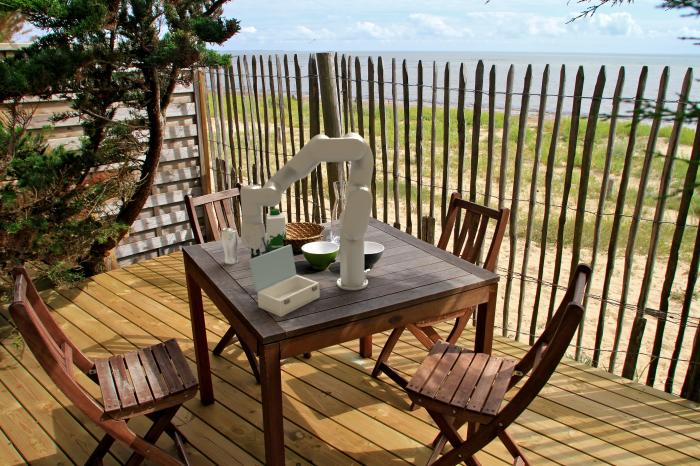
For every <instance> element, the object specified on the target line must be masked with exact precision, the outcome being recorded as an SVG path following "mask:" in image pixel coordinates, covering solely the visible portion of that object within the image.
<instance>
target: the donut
mask: <svg viewBox="0 0 700 466" xmlns="http://www.w3.org/2000/svg"><path fill="white" fill-rule="evenodd" d="M331 228H332V227H325V228H324V229H322V231H321V232H320V234H321V235H323V238H322V241H329V240H328V239H327V237H328V236H329V235H330V231H331ZM320 234H319V235H320Z"/></svg>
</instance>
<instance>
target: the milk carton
mask: <svg viewBox="0 0 700 466" xmlns="http://www.w3.org/2000/svg"><path fill="white" fill-rule="evenodd" d="M269 211H270V212H269V213H266V218H265V226H266V227H265V229H266V243H267V247H268V250H269V252H271V251H274V250H276V249H279V248H282V247H284V243H283V239H286V240H287V226H286V222H287V221H286V218H285V215H284V213H283V212H280V209H279V208H271V209H270V210H269Z"/></svg>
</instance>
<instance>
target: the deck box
mask: <svg viewBox="0 0 700 466" xmlns="http://www.w3.org/2000/svg"><path fill="white" fill-rule="evenodd" d="M256 292H257V304H258V308H260V309H263V310H265V311H267V312H270V313H271V314H274V315H276V316H278V317H284V316H285V315H287V314H289V313H291V312H293V311H295V310H297V309H299V308H301V307H303V306H305V305H307V304H309V303H311V302H314V301H315V300H317V299H319V298H320V297H321V296H320V294H321V293H320V282H318V281H315V280H312V279H309V278H308V277H304V276H301V275H299V274H296V275H294V276H291V277H289V278H287V279H285V280H282V281H280V282H278V283H275V284H273V285H271V286H268V287H266V288H264V289H261V290H259V291H256Z"/></svg>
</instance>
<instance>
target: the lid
mask: <svg viewBox="0 0 700 466" xmlns="http://www.w3.org/2000/svg"><path fill="white" fill-rule="evenodd" d="M248 264H249V268H250V269H249V270H250V273H251V277H252V278H251V279H252V284H253V288H254V292H259V291H261V290H263V289H265V288H268V287H270V286H272V285H275V284H277V283H279V282H282V281H284V280H286V279H288V278H291V277H293V276H295V275H297V269H296V264H295V258H294V253H293V247H292V244H288V245H287V244H286V246H284V247H282V248H279V249H276V250H274V251H271V252H270V251H269V252H268V251H267V252H266V253H264V254H260V256H258V257H255V258H252V259H251V258H250V259H248Z"/></svg>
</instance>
